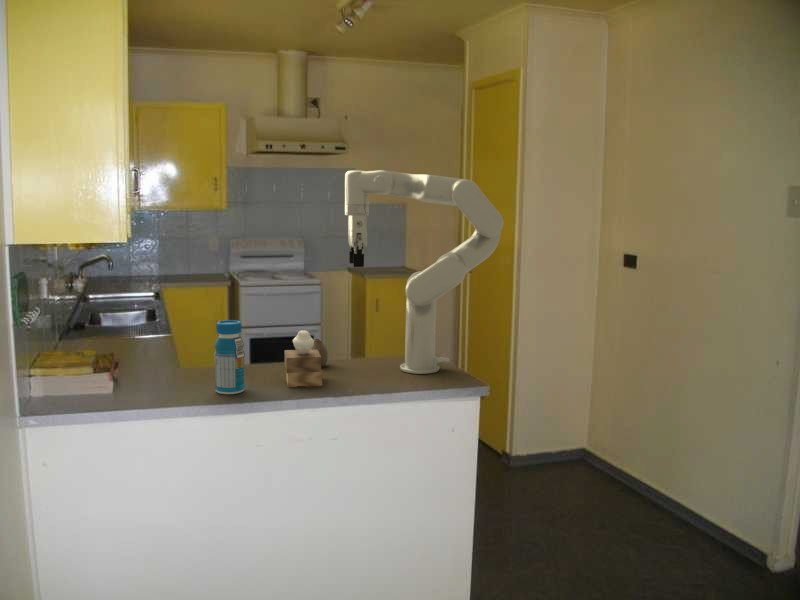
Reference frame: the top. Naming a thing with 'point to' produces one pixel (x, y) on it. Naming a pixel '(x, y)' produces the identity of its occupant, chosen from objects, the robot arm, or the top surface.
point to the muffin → (303, 342)
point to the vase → (321, 350)
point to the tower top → (302, 361)
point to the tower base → (304, 379)
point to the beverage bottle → (229, 358)
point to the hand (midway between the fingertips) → (356, 265)
